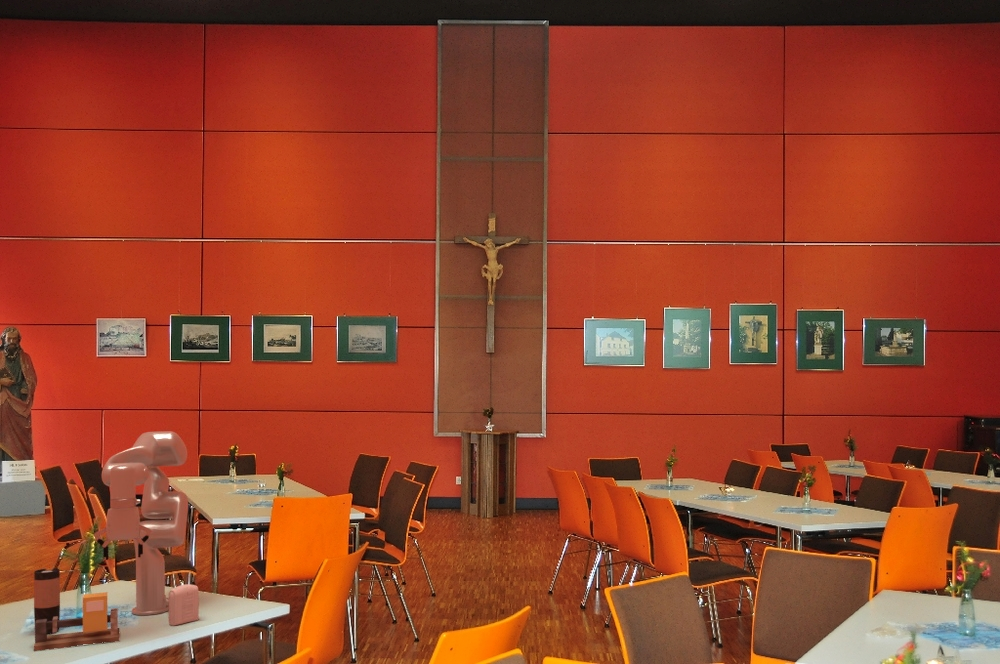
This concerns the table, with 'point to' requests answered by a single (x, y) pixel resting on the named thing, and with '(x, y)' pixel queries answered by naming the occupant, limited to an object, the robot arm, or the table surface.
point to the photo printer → (183, 604)
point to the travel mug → (47, 595)
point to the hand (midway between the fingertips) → (123, 558)
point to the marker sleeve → (95, 612)
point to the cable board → (75, 638)
